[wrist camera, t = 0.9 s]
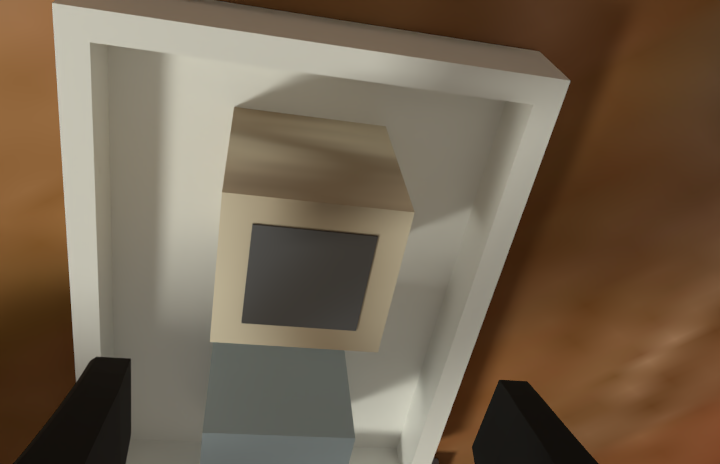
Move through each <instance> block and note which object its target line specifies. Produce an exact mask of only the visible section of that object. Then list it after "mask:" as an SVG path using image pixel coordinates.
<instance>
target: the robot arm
mask: <svg viewBox="0 0 720 464" xmlns="http://www.w3.org/2000/svg"><path fill="white" fill-rule="evenodd" d="M130 438H131V359H130V358H113V357H95V358H93V359H92V360H90V362H89V363H88V365H87V366H86V368H85V370H84V371H83V373H82V374H81V376H80V377H79V379H78V380H77V382H76V383H75V385H74V386H73V388H72V389H71V391H70V392H69V393H68V395H67V396H66V398H65V399H64V400H63V402H62V403H61V404H60V406H59V407H58V408H57V410H56V411H55V413H54V414H53V415H52V417H51V418H50V419H49V420H48V422H47V423H46V424H45V425H44V427H43V428H42V429H41V430H40V432H39V433H38V434H37V435H36V437H35V438H34V439H33V440H32V442H31V443H30V444H29V445H28V447H27V448H26V449H25V450H24V452H23V453H22V454H21V455H20V456H19V457H18V459H17V460H16V461H15V462H14V463H13V464H126V459H127V454H128V449H129V443H130ZM472 449H473V456H474V462H475V464H598V463H597V462H596V460H595V459H594V458H593V457H592V456H591V455H590V454H589V453H588V451H587V450H586V449H585V448H584V447H583V446H582V445H581V443H580V442H579V441H578V440H577V439H576V438H575V437H574V435H573V434H572V433H571V432H570V431H569V430H568V428H567V427H566V426H565V425H564V424H563V423H562V421H561V420H560V419H559V418H558V417H557V415H556V414H555V413H554V412H553V411H552V410H551V408H550V407H549V406H548V405H547V404H546V402H545V401H544V400H543V399H542V398H541V397H540V395H539V394H538V393H537V392H536V391H535V390H534V389H533V387H532V386H531V385H530V384H529V383H528V382H527V381H510V380H499V382H498V384H497V387H496V389H495V392H494V394H493V397H492V399H491V402H490V404H489V406H488V409H487V411H486V414H485V416H484V419H483V421H482V424H481V426H480V429H479V431H478V434H477V436H476V438H475V441H474V443H473V446H472Z"/></svg>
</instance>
